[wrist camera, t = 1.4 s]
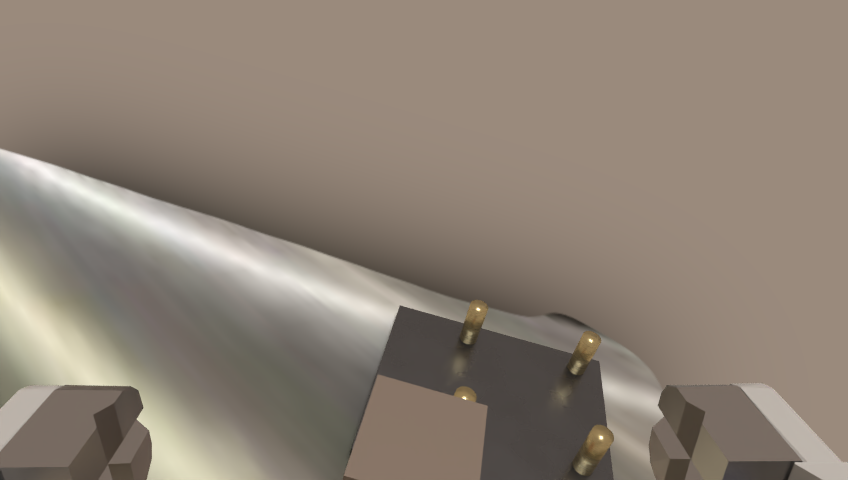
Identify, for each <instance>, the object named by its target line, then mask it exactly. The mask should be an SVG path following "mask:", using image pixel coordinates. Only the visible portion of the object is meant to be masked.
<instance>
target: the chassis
mask: <svg viewBox="0 0 848 480" xmlns="http://www.w3.org/2000/svg"><path fill="white" fill-rule="evenodd" d="M487 311H488V306H487V304H486V303H485V302H483V301H480V300H474V301H472V302H471V304H470V307H469V310H468V313H467V316H466V319H465V321H464V323H460V322H457V321H453V320H450V319H446V318H442V317H439V316H435V315H432V314H428V313H425V312H421V311H418V310H414V309H410V308H407V307H403V306H400V307H399V310H398V313H397V316H396V319H395V322H394V325H393V328H392V331H391V334H390V337H389V340H388V342H387V345H386V348H385V351H384V354H383V357H382V360H381V363H380V366H379V369H378V372H377V375H382V376H385V377H389V378H392V379H396V380H399V381H403V382H406V383H410V384H413V385H417V386H420V387H424V388H427V389H431V390H434V391H438V392H441V393H445V394H448V395H452V396H455V397H459V398H462V399H466V400H469V401H473V402H476V403H480V404H483V405H487V406H488V408H487V417H486V427H485V436H484V446H483V455H482V465H481V474H480V480H613V472H612V463H611V455H610V446H611V444H612V442H613V441H614V436H613V434H612V432H611V431H610V430H609V429H608V428H607V422H606V414H605V405H604V397H603V389H602V381H601V372H600V364H599V361H596V360H592V357H593V356H594V354H595V352H596V350H597V348H598V346H599V345H600V343H601V338H600V337H599V336H598V335H597V334H596V333H594V332H592V331H585V332H584V333H583V335H582V337H581V339H580V341H579V343H578V345H577V347H576V349H575V351H574V353H573V354H571V353H567V352H564V351H560V350H557V349H553V348H549V347H546V346H542V345H539V344H535V343H532V342H528V341H524V340H521V339H517V338H514V337H510V336H507V335H503V334H500V333H496V332H492V331H489V330H485V329H482V328H481V327H482V324H483V322H484V319H485V316H486V313H487ZM377 375H376V378H377ZM376 378H375V381H376ZM375 381H374V384H375ZM374 384H373V387H374ZM373 387H372V390H373ZM372 390H371V392H370V395H369V398H368V401H367V404H366V407H365V410H364V413H363V416H362V419H361V422H360V425H359V428H358V431H357V434H356V437H355V440H354V442H353V445H352V448H351V453H352V450H353V447H354V444H355V441H356V438H357V435H358V432H359V429H360V426H361V423H362V420H363V417H364V414H365V411H366V408H367V405H368V402H369V399H370V396H371V393H372ZM351 453H350V455H351Z"/></svg>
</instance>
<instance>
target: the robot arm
mask: <svg viewBox="0 0 848 480" xmlns="http://www.w3.org/2000/svg"><path fill="white" fill-rule="evenodd" d="M658 406H659V408H660V410H661V411H662V413H663V415H664V416H665V417H663V418H662V419H661V420H660V421H659V422H658V423H657V424H656V425H655V426H654V427H652V432H651V436H650V441H649V452H650V463H651V466H652V469H653V473H654V476H655V478H656V480H848V462H842V461H841V460H840V459H839V458H838V457H837V456H836V455H835V454H834V453H833V452H832V451H831V450H830V448H828V447H827V446H826V444H825V443H824V442H823V441H822V440H821V439H820V438H819V437H818V436H817V435H816V434H815V433H814V431H812V430H811V428H810V427H809V426H808V425H807V424H806V423H805V422H804V421H803V420H802V419H801V418H800V417H799V416H798V415H797V413H796V412H795V411H794V410H793V409H792V408H791V407H790V406H789V405H788V404H787V403H786V402H785V401H784V400H783V399H782V398H781V397H780V396H779V394H778V393H777V392H776V391H775V390H774V389H773V388H771V387H770V386H767V385H766V384H763V383H746V384H730V385H667V386H666V388H665V389H664V390H663V391H662V393H661V396H660V400H659V404H658ZM142 409H143V405H142V401H141V398H140V394H139V391H138V390H137V389H135V388H133V387H131V386H84V385H64V386H59V385H30V386H27V387H25V388H22V389H20V390H19V391H18V392H17V393H16V394H15V395H14V396H13V397H12V398H11V399H10V400H9V401H8V402H7V403H6V404H5V405H4V406H3V407H2V408H1V409H0V480H146V479H147V475H148V471H149V467H150V463H151V459H152V443H151V438H150V434H149V430H148V429H147V428H145V427H144V426H143V425H142V424H141V423H140V422H139V421H137V420H136V419H137V417H138V416H139V414H140V412H141V411H142Z"/></svg>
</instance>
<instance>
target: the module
mask: <svg viewBox="0 0 848 480" xmlns="http://www.w3.org/2000/svg"><path fill="white" fill-rule="evenodd" d="M487 408H488V406H487V405H483V404H480V403H476V402H473V401H469V400H466V399H462V398H459V397H455V396H452V395H448V394H445V393H441V392H438V391H434V390H431V389H427V388H424V387H420V386H417V385H413V384H410V383H406V382H403V381H399V380H396V379H392V378H389V377H385V376H382V375H377V378H376V381H375V384H374V387H373V390H372V393H371V396H370V399H369V402H368V405H367V408H366V411H365V414H364V417H363V420H362V423H361V426H360V429H359V432H358V435H357V438H356V441H355V444H354V447H353V450H352V453H351V455H350V458H349V461H348V464H347V467H346V470H345V473H344V477H343V480H480V474H481V465H482V455H483V446H484V436H485V427H486V417H487Z"/></svg>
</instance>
